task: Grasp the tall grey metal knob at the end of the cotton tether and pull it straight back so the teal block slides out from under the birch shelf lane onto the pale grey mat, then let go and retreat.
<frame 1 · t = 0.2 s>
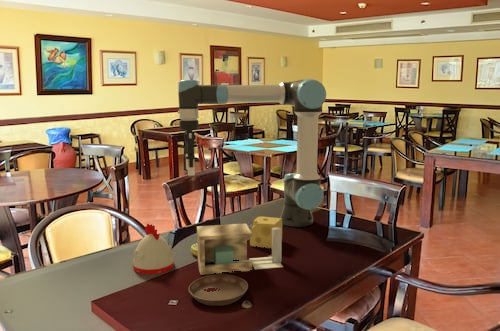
hand: (190, 172, 184), 28 cm above the table, fingers open, 13 cm apart
cheese: (266, 244, 182), on the table
kitchen timer: (153, 266, 159), on the table
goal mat: (265, 262, 161), on the table
decorated donut: (205, 254, 171), on the table
build plate: (212, 238, 190), on the table
shelf lane: (243, 264, 160), on the table
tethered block: (248, 247, 159), point 6 cm above the table, slide at 0.0 cm
plant saucer: (218, 296, 137), on the table
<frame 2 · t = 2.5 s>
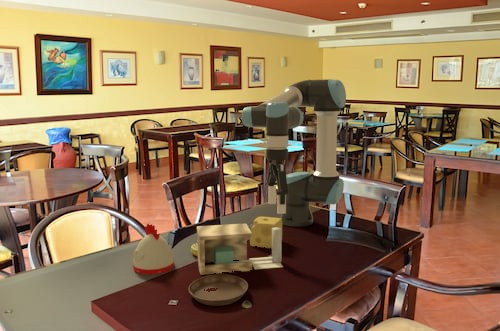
hand: (276, 208, 159), 20 cm above the table, fingers open, 13 cm apart
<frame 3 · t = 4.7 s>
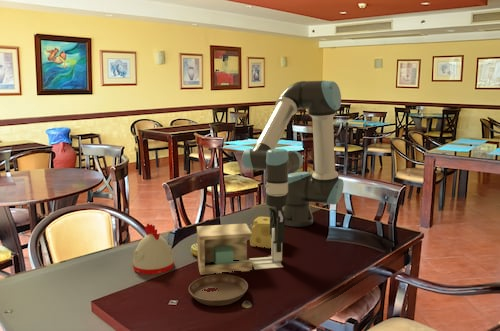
hand: (276, 257, 162), 2 cm above the table, fingers closed on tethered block, 3 cm apart
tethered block: (248, 247, 159), point 6 cm above the table, slide at 0.0 cm, touching gripper
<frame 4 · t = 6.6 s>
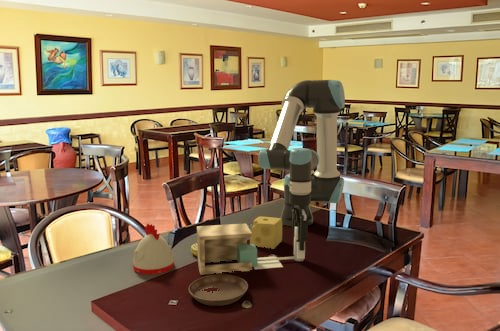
hand: (299, 256, 163), 2 cm above the table, fingers closed on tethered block, 3 cm apart
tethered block: (271, 245, 161), point 6 cm above the table, slide at 8.3 cm, touching gripper
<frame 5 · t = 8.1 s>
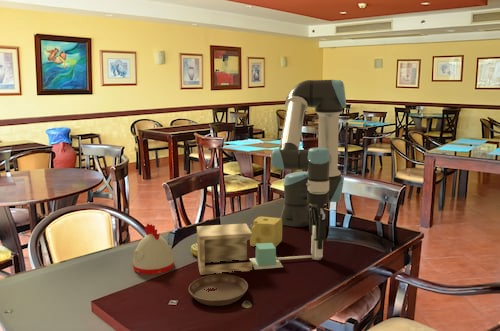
hand: (316, 254, 164), 2 cm above the table, fingers closed on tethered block, 3 cm apart
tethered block: (289, 244, 162), point 6 cm above the table, slide at 14.9 cm, touching gripper
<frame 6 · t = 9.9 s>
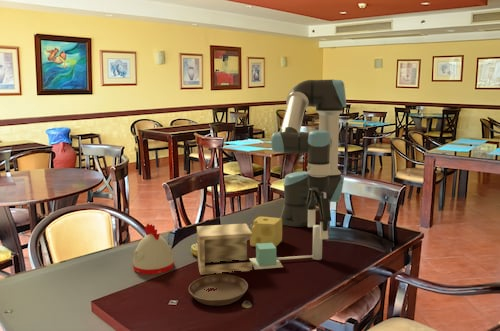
hand: (317, 232, 164), 10 cm above the table, fingers open, 13 cm apart
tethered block: (290, 244, 162), point 6 cm above the table, slide at 15.1 cm
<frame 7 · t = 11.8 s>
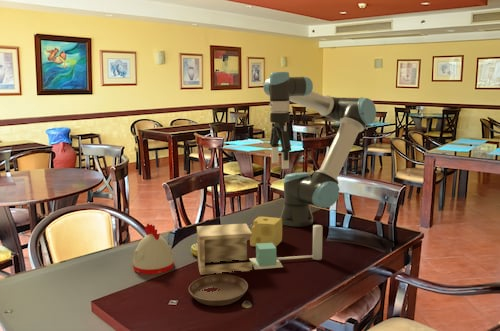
hand: (280, 165, 181), 31 cm above the table, fingers open, 13 cm apart
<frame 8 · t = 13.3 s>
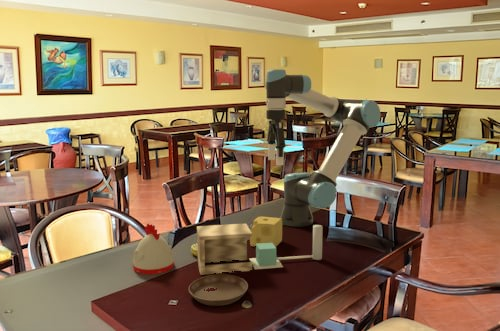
hand: (275, 162, 183), 32 cm above the table, fingers open, 13 cm apart
at the end: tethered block slide at 15.1 cm; the gripper is holding nothing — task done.
